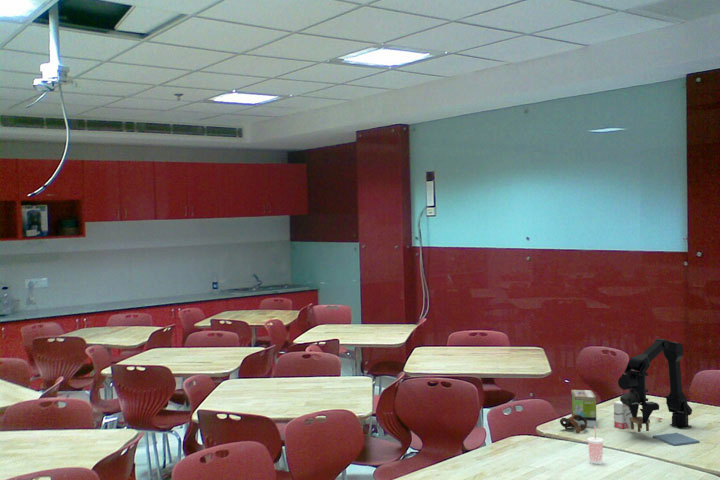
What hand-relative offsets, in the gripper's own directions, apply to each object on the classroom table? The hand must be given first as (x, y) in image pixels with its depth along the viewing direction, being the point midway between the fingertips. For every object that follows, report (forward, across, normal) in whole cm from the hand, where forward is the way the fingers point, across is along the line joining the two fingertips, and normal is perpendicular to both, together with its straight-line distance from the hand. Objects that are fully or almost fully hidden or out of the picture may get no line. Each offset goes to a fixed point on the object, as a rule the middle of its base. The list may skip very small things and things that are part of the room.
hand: (639, 421), depth 292 cm
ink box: (+7, -16, +4) cm, 18 cm away
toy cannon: (+7, -19, -21) cm, 29 cm away
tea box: (+7, -27, -10) cm, 30 cm away
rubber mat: (+7, +9, +11) cm, 16 cm away
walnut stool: (+4, 0, 0) cm, 4 cm away
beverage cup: (+7, +21, -38) cm, 44 cm away
